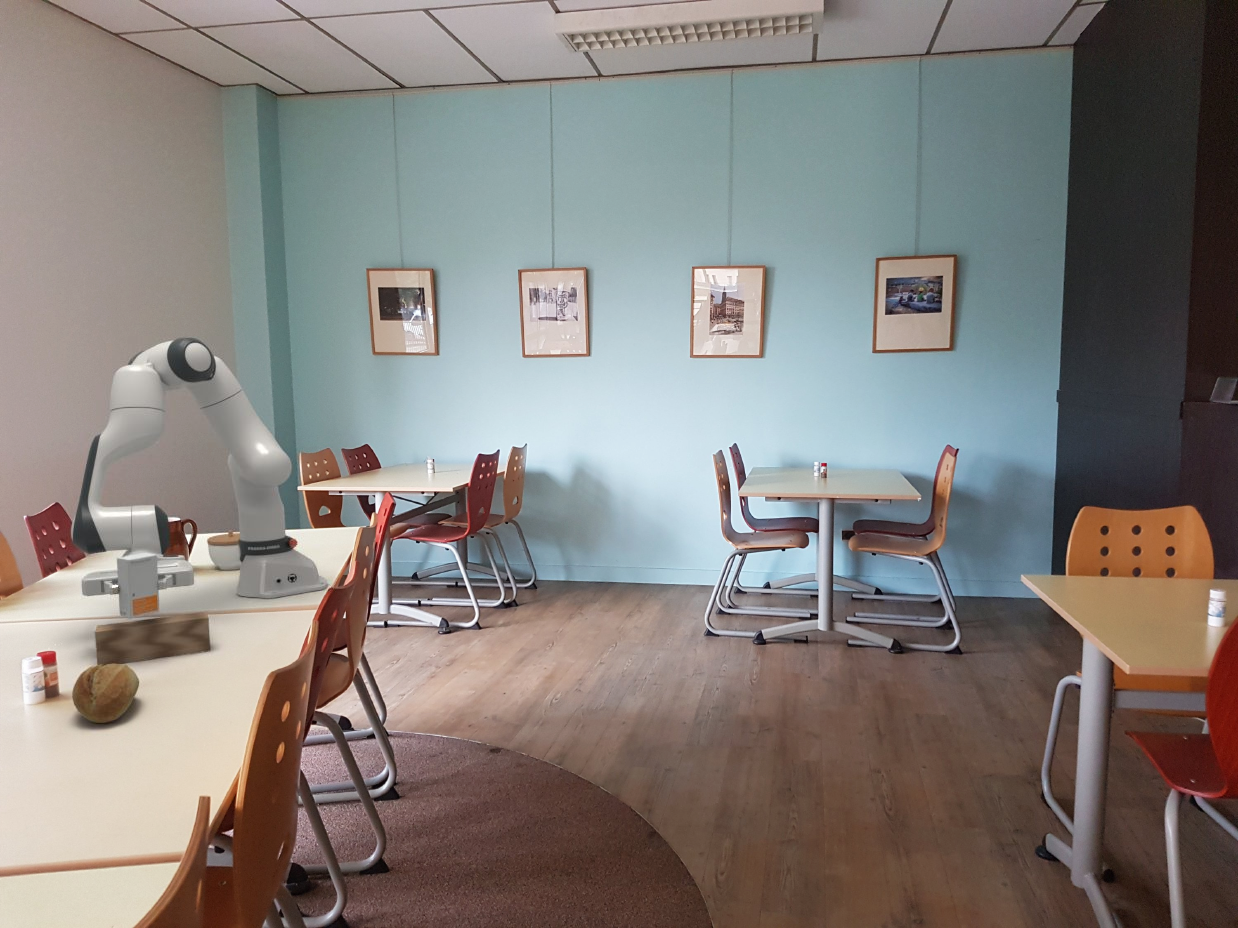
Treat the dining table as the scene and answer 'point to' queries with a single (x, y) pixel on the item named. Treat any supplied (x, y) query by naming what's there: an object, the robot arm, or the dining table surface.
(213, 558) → the lidded bowl
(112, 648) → the ridge
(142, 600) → the skincare box
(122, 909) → the dining table surface
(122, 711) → the bread roll
